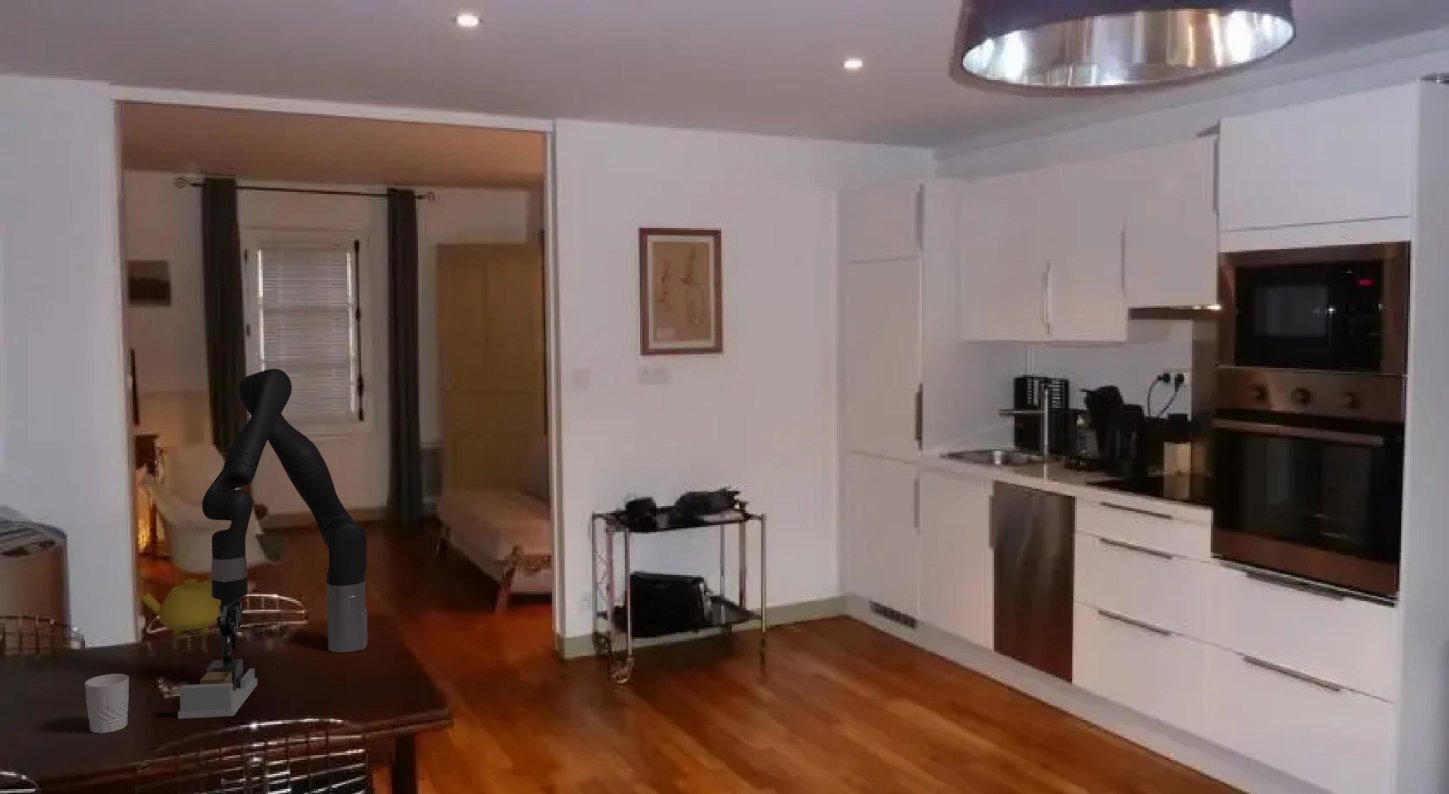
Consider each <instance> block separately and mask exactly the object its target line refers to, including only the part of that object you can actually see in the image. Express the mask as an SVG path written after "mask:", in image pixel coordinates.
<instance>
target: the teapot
mask: <svg viewBox="0 0 1449 794" xmlns="http://www.w3.org/2000/svg"><path fill="white" fill-rule="evenodd" d="M140 601H141V602H142V603H143V604H145V605H146V606H147V607H148V608H149V610H151V611H152V612H154V613H155V614H156V615H157V616H158V617H159V621H160V623H161V624H162V625H163V627H165V628H166V629H167V630H170V631H171V630H172V633H171V636H173V637H178V636H182V635H183V633H184V631H193V630H198V633H199V634H201V635H203V634H209V633H211V630H210V629H209V627H212V626H215V625H216V624H218V623H217V617H220V614H219V606H221V600H219V599H215V598H213V597H212V585H211V584H208V583H205V582H204V583H203V582H198V579H196V578H189V579H185V580H184V584H183V583H182V584H179V585H176V586H174V587H172V588H171V590H170V591H169V592H168V594H167V595H166V597H165V598H164V601H163V602H162V604H160V603H159V602H158V600H157V599H155V598H154V597H153V596H152V595H151V594H150V593H149V592H147V593H145V594H144V595H143V596H142V597H141V598H140Z"/></svg>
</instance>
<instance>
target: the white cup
mask: <svg viewBox="0 0 1449 794" xmlns="http://www.w3.org/2000/svg"><path fill="white" fill-rule="evenodd" d="M129 681H130V677H129V675H127V674H122V673H110V674H104V675H97V676H94V677H91V678H89V679H87V680H86V681H85V682H84V687H85V689H84V690H85V701H86V708H87V718H88V722H89V730H90V732H92V733H95V734H107V733H113V732H116V731H120V730H122V729H125V727H127V725H128V711H129V699H130V698H129V695H130V694H129V693H130V692H129V691H130V690H129V687H130V686H129V685H130V682H129Z"/></svg>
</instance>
